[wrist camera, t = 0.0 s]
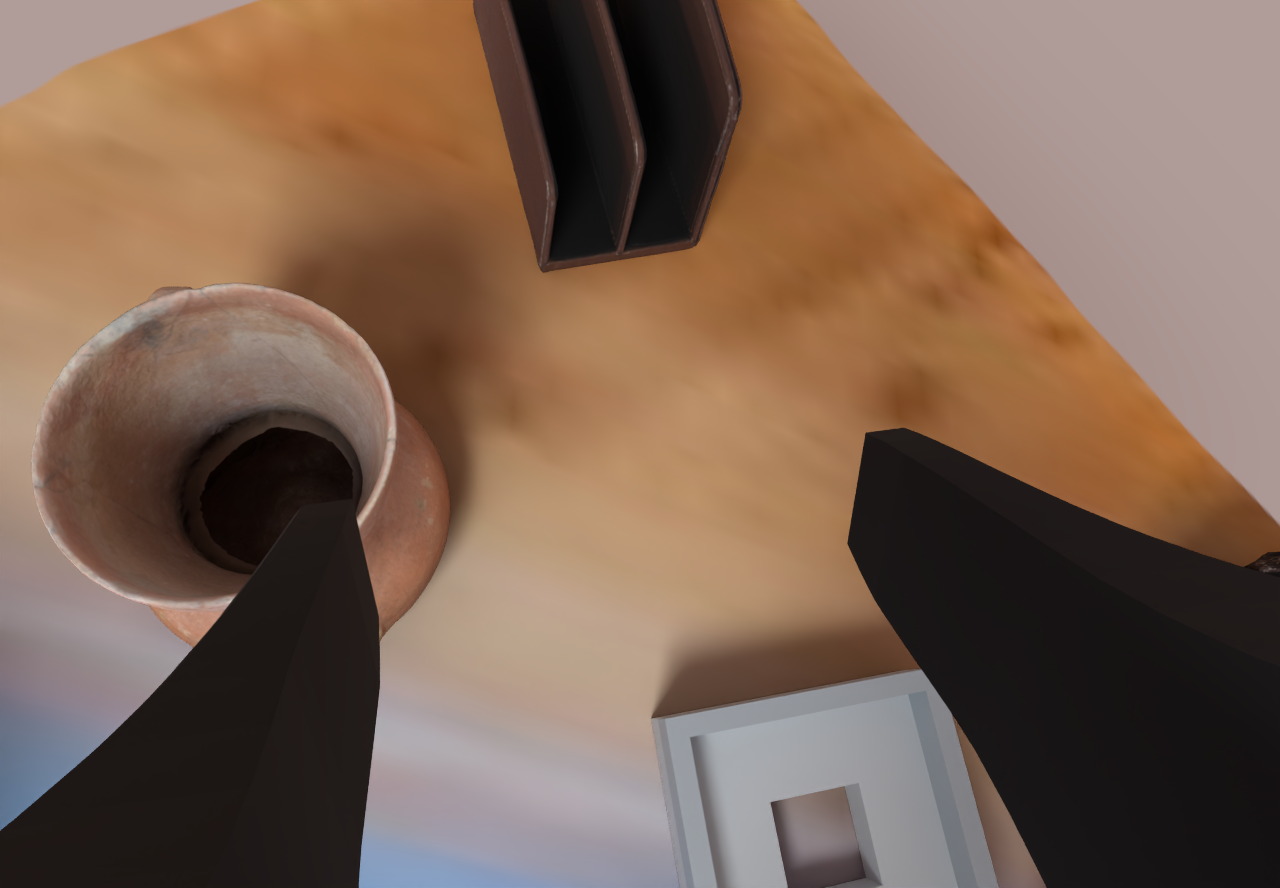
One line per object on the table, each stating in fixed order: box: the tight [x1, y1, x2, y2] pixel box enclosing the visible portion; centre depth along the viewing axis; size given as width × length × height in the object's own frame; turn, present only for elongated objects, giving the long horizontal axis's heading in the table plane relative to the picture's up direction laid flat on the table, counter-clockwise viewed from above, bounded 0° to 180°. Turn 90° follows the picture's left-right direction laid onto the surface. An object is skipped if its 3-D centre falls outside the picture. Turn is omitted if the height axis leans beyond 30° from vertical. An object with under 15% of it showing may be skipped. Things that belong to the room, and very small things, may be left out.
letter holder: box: [473, 0, 742, 273], centre depth 46 cm, size 10×20×14 cm, turn 15°
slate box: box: [651, 668, 999, 888], centre depth 39 cm, size 14×14×4 cm
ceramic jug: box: [31, 283, 450, 647], centre depth 36 cm, size 18×14×14 cm
